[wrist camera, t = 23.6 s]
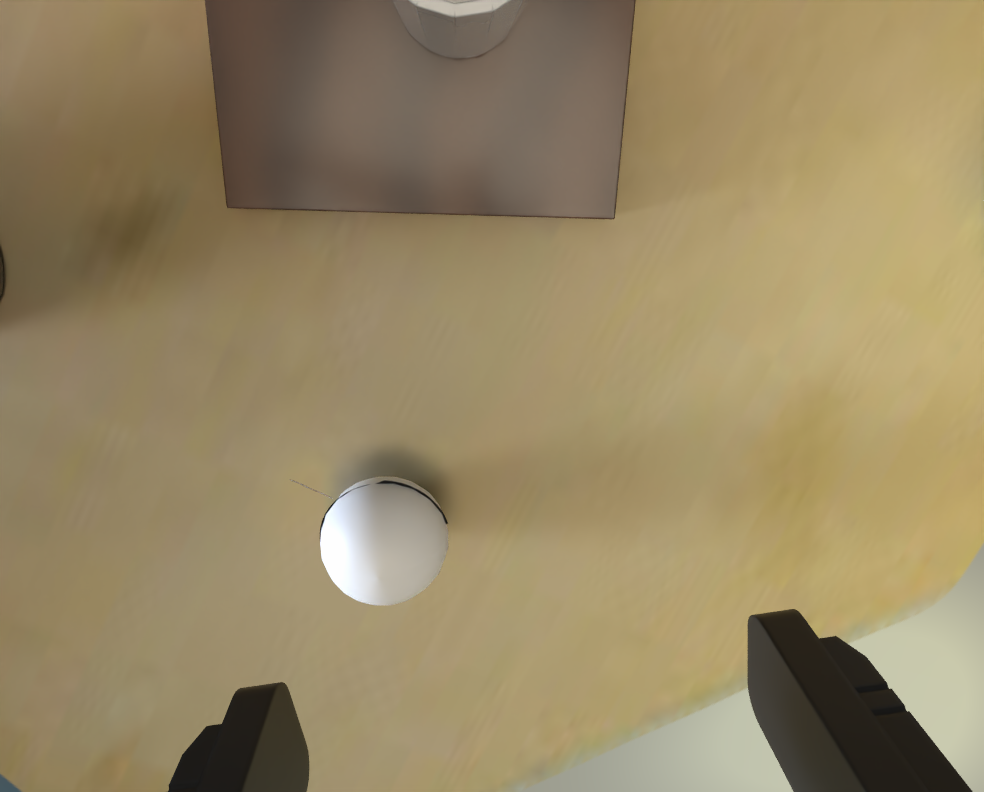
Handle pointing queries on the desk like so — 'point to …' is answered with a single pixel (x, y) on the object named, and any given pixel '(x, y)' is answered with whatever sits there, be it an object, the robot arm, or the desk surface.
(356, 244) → the desk surface
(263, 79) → the walnut board
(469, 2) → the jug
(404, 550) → the white rounded piece
